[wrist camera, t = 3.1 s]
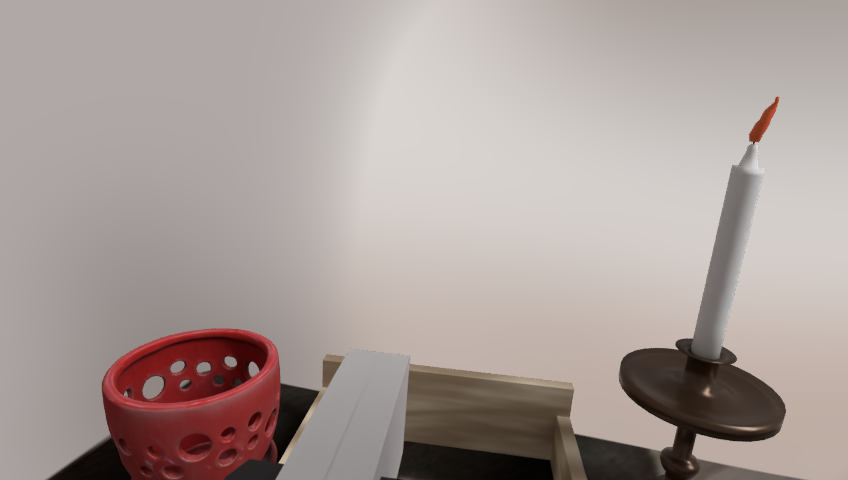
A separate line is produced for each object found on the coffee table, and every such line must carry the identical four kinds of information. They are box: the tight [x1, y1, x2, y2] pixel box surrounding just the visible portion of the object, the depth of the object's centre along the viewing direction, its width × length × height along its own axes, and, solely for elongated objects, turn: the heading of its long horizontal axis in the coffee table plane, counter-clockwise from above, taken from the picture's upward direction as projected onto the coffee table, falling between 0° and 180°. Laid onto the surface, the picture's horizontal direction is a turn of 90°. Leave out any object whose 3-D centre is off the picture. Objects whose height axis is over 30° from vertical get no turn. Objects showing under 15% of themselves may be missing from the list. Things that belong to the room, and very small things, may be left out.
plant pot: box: [102, 329, 280, 480], centre depth 42 cm, size 13×13×12 cm
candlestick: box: [619, 97, 786, 480], centre depth 36 cm, size 11×11×35 cm
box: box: [279, 355, 587, 480], centre depth 42 cm, size 17×24×8 cm
